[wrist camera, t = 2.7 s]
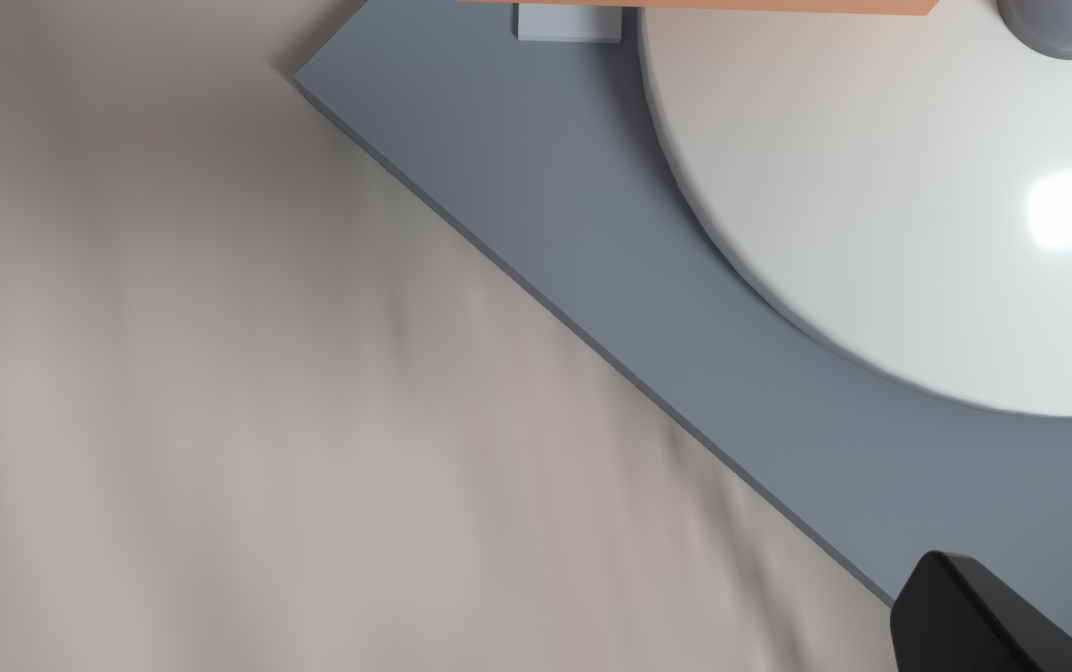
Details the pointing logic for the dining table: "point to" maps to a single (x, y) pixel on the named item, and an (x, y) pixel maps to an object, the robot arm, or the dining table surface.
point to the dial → (884, 177)
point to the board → (683, 289)
